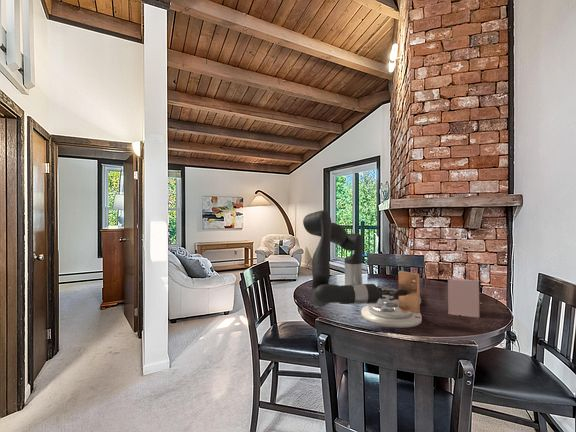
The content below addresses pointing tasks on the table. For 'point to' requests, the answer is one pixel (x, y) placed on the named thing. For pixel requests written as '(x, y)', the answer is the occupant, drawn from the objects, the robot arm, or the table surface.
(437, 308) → the table surface
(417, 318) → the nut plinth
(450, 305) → the greeting card
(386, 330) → the table surface
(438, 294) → the table surface
